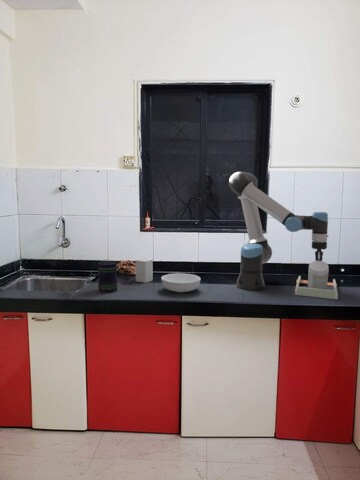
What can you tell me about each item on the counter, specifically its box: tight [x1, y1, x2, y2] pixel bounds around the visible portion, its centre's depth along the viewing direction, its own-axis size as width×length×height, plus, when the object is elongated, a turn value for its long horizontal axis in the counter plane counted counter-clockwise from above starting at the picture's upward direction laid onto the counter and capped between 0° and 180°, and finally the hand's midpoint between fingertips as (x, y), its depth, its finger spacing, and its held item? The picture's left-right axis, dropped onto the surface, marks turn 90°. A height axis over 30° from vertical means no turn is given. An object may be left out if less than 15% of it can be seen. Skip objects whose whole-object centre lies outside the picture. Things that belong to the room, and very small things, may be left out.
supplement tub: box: [307, 260, 330, 289], centre depth 183 cm, size 10×10×15 cm
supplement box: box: [135, 258, 154, 284], centre depth 206 cm, size 7×7×13 cm
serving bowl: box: [160, 272, 201, 293], centre depth 187 cm, size 21×21×7 cm
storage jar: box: [97, 260, 118, 294], centre depth 185 cm, size 10×10×15 cm
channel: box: [294, 275, 339, 300], centre depth 193 cm, size 20×34×4 cm, turn 158°
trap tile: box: [295, 279, 338, 287], centre depth 205 cm, size 22×7×1 cm, turn 68°
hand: (317, 284), depth 191 cm, fingers closed
